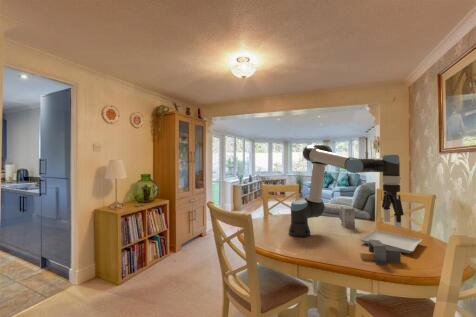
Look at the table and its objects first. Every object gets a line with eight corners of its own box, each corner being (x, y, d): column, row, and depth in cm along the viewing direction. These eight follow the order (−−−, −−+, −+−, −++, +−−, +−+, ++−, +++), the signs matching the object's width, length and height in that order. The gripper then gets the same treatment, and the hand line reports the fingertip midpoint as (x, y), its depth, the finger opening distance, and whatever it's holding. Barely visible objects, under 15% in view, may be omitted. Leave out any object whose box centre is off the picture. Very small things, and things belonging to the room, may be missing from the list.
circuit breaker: (348, 223, 190) (347, 205, 190) (355, 227, 176) (354, 208, 176) (338, 222, 191) (338, 205, 191) (345, 227, 177) (344, 208, 177)
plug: (361, 259, 120) (361, 248, 120) (359, 255, 124) (359, 245, 124) (404, 263, 115) (403, 251, 115) (399, 259, 120) (399, 247, 120)
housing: (376, 264, 114) (376, 247, 114) (367, 253, 127) (367, 238, 127) (387, 265, 113) (387, 247, 113) (377, 254, 126) (377, 238, 126)
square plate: (374, 234, 161) (374, 229, 161) (423, 245, 140) (423, 238, 140) (359, 244, 143) (359, 238, 143) (413, 257, 122) (412, 250, 122)
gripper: (411, 186, 106) (412, 232, 106) (389, 181, 130) (390, 219, 130) (393, 186, 108) (394, 231, 107) (374, 181, 132) (375, 218, 131)
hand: (392, 224), depth 118 cm, fingers open, 12 cm apart
